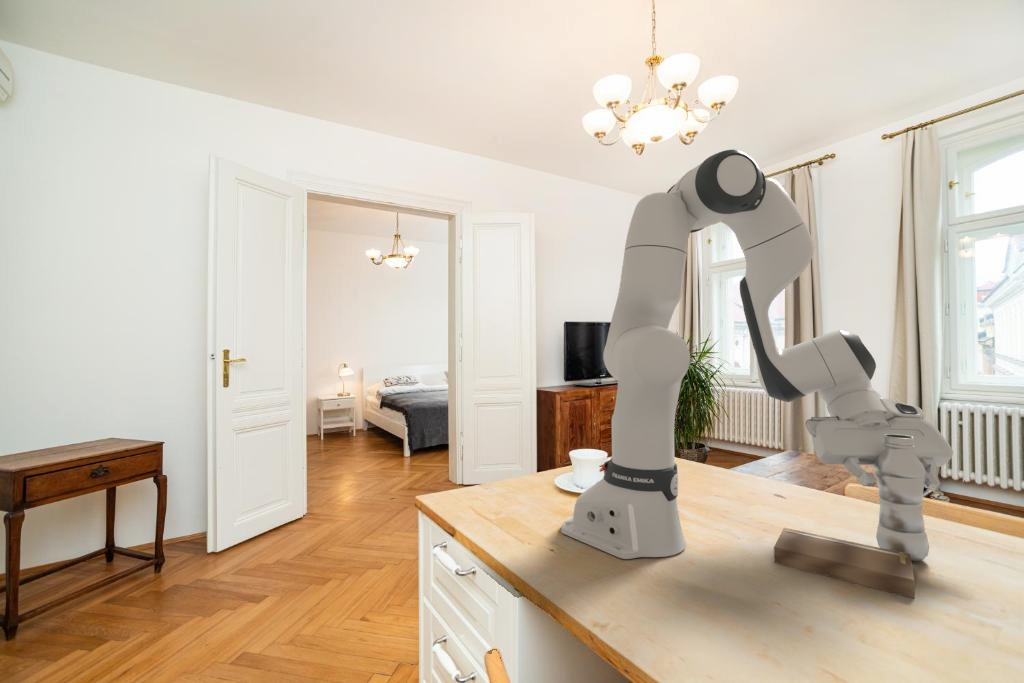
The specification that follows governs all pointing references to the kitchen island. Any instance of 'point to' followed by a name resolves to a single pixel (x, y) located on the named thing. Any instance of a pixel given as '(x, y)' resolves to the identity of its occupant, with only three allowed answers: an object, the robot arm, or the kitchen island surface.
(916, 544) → the plastic bottle
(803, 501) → the kitchen island surface
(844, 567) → the walnut board
